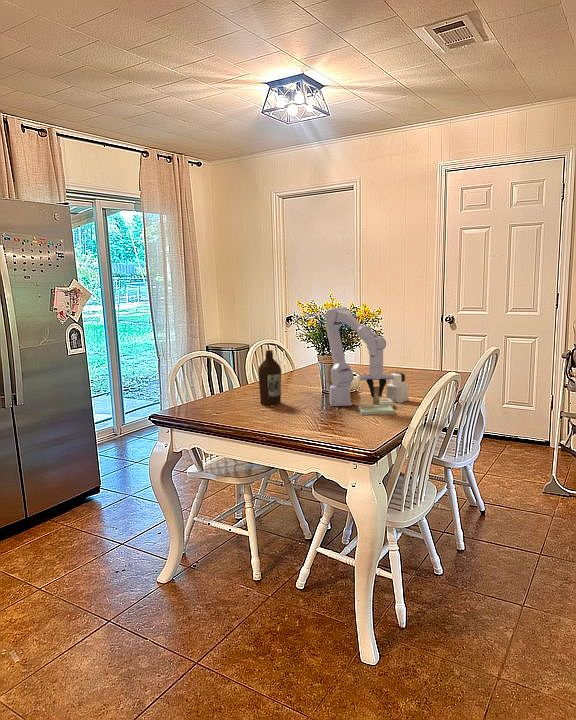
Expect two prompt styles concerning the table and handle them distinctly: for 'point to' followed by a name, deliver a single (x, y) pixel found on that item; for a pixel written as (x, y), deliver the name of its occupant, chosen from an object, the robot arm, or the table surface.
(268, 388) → the olive oil
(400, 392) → the container
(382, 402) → the square block with hole
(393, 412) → the tray
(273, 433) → the table surface
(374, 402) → the dowel
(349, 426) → the table surface
